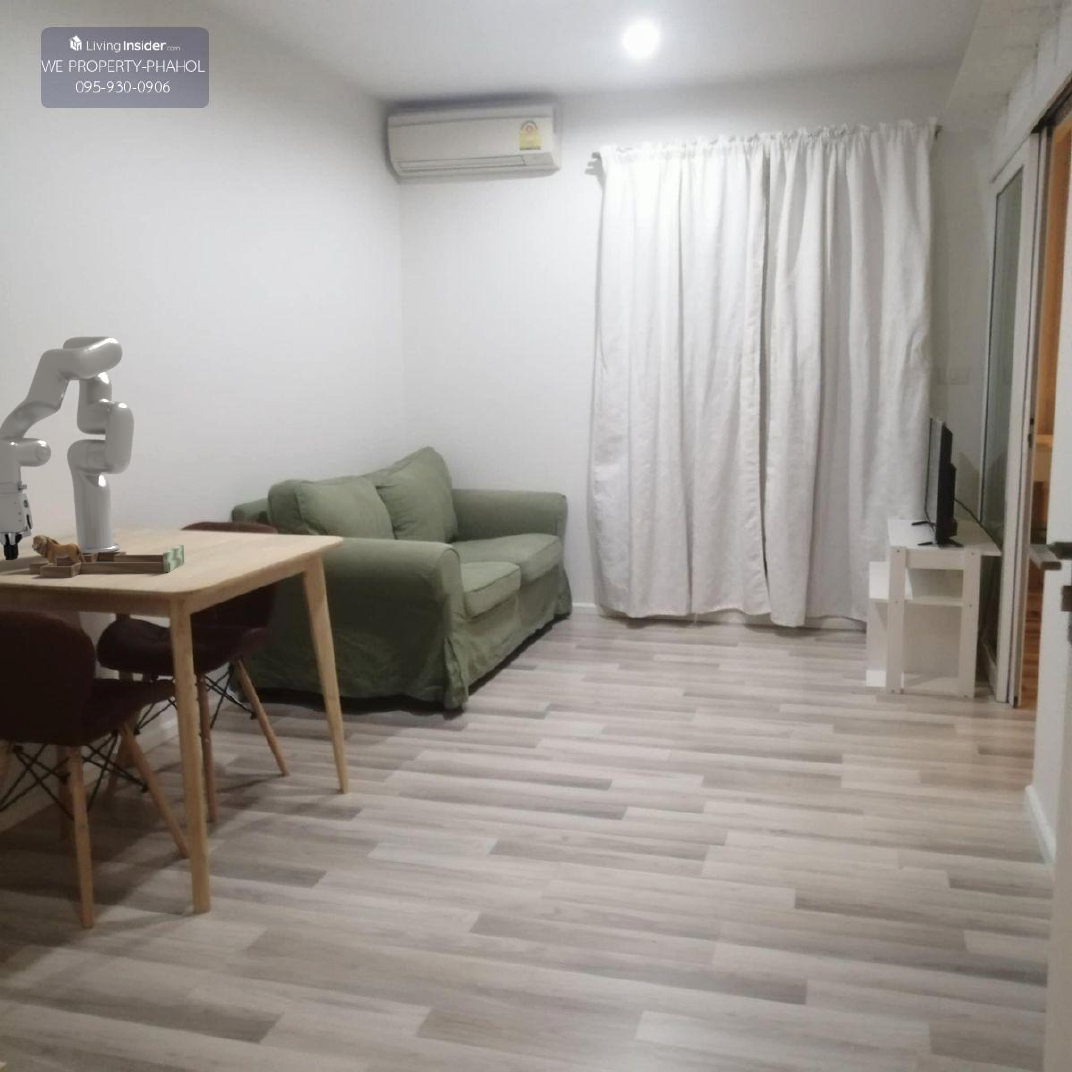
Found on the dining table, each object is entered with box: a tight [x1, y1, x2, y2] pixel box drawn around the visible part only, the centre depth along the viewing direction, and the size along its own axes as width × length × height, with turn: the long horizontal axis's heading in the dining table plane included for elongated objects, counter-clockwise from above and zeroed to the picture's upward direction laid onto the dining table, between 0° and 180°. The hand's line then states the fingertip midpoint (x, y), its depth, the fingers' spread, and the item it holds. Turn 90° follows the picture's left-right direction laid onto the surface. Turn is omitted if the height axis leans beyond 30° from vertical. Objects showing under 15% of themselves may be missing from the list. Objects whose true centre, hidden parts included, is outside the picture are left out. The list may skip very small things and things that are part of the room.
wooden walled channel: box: [29, 544, 185, 578], centre depth 268 cm, size 22×35×5 cm, turn 91°
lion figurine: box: [31, 534, 86, 566], centre depth 268 cm, size 15×5×9 cm, turn 92°
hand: (11, 559), depth 268 cm, fingers closed
